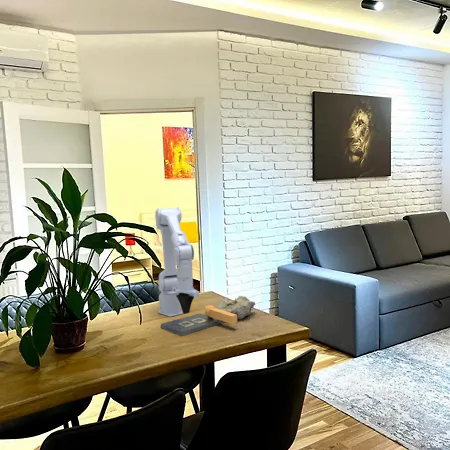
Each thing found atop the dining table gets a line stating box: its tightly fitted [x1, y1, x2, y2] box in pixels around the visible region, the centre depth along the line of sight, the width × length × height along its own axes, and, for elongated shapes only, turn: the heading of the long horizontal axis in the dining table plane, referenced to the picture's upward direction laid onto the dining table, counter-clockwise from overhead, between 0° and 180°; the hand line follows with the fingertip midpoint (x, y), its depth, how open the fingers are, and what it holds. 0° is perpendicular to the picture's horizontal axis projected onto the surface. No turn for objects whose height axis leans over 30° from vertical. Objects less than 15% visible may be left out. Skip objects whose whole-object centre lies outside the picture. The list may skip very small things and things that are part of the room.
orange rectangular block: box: [204, 304, 238, 325], centre depth 175 cm, size 16×4×4 cm, turn 41°
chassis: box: [160, 312, 222, 337], centre depth 176 cm, size 13×19×2 cm
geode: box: [216, 295, 256, 321], centre depth 185 cm, size 17×9×15 cm
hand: (186, 312), depth 173 cm, fingers closed
